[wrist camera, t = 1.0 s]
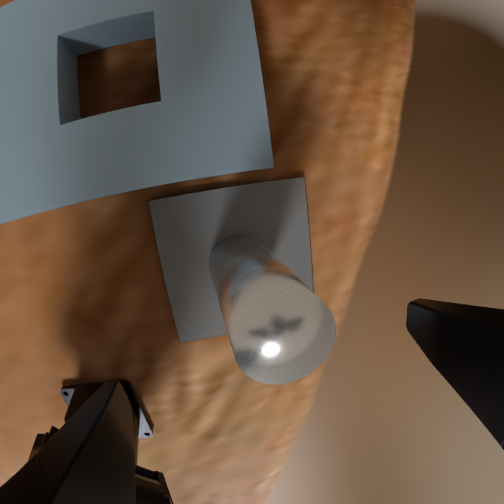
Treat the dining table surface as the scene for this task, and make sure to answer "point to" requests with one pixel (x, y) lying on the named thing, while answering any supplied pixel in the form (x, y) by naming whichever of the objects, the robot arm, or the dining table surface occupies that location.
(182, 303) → the rubber mat
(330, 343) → the steel pin
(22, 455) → the dining table surface
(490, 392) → the robot arm
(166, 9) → the blue peg hole block
